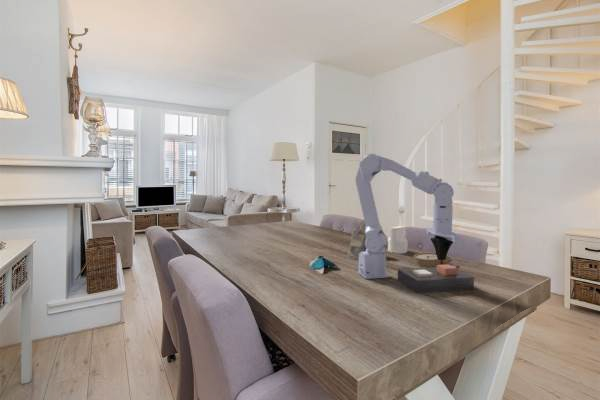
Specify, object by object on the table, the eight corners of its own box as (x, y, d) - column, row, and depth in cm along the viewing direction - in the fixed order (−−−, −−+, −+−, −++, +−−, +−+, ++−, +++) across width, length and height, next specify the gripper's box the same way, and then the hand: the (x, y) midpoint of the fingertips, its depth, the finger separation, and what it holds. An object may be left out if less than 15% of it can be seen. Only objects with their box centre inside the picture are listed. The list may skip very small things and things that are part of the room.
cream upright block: (394, 248, 155) (395, 225, 154) (410, 251, 148) (411, 227, 147) (384, 250, 149) (385, 226, 148) (400, 254, 142) (401, 229, 141)
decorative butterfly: (321, 254, 127) (338, 253, 119) (323, 270, 126) (341, 269, 118) (302, 258, 120) (319, 257, 113) (305, 274, 119) (322, 274, 112)
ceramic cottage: (341, 256, 138) (344, 223, 137) (362, 251, 149) (365, 221, 148) (370, 265, 127) (373, 230, 125) (390, 259, 138) (394, 227, 137)
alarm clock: (409, 253, 133) (445, 248, 131) (411, 264, 133) (446, 259, 131) (417, 260, 121) (455, 255, 120) (419, 272, 122) (457, 267, 120)
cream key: (419, 283, 98) (420, 274, 97) (412, 278, 102) (412, 270, 102) (432, 282, 98) (432, 273, 98) (424, 278, 103) (424, 269, 103)
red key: (444, 277, 99) (445, 268, 99) (436, 273, 104) (436, 264, 103) (456, 276, 100) (457, 268, 100) (447, 272, 104) (448, 264, 104)
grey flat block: (417, 293, 93) (417, 280, 93) (397, 280, 105) (397, 269, 105) (473, 289, 97) (474, 277, 97) (448, 277, 109) (449, 266, 109)
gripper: (469, 221, 94) (467, 264, 94) (439, 216, 108) (438, 253, 109) (448, 222, 92) (447, 265, 93) (421, 216, 107) (420, 254, 107)
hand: (441, 259), depth 101 cm, fingers closed
